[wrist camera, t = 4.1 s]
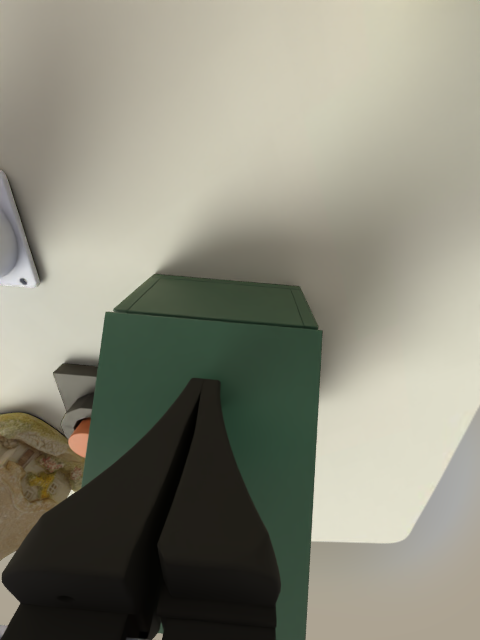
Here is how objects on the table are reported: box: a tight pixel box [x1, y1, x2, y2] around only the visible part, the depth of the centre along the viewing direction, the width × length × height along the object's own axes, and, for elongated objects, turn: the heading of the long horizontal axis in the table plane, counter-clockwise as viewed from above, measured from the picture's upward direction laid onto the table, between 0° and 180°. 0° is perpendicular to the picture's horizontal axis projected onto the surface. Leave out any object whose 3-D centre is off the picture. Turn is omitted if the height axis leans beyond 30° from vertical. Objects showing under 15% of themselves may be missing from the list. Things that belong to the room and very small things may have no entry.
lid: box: [81, 312, 323, 640], centre depth 12 cm, size 14×11×1 cm
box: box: [113, 274, 318, 330], centre depth 19 cm, size 14×11×6 cm
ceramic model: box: [0, 412, 85, 561], centre depth 26 cm, size 14×11×10 cm
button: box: [68, 418, 91, 458], centre depth 23 cm, size 4×4×2 cm
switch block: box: [53, 364, 98, 439], centre depth 25 cm, size 8×10×3 cm
